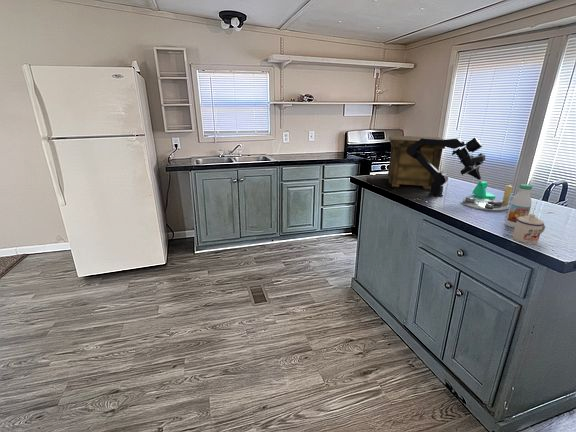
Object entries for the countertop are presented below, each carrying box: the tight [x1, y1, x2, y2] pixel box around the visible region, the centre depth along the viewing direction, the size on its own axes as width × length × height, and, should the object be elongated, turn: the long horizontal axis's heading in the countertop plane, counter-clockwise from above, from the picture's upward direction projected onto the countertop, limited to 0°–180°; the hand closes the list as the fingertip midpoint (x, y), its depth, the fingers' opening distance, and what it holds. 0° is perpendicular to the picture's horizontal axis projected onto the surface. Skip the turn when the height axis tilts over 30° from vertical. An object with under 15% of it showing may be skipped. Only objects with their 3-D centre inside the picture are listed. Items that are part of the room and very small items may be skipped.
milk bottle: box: [505, 183, 533, 229], centre depth 140 cm, size 8×8×20 cm
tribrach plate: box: [461, 196, 508, 212], centre depth 174 cm, size 22×22×3 cm
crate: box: [387, 135, 446, 190], centre depth 219 cm, size 35×35×33 cm
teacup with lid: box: [512, 213, 546, 244], centre depth 126 cm, size 12×9×12 cm
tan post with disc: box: [483, 184, 513, 207], centre depth 167 cm, size 16×7×11 cm, turn 103°
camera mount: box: [472, 181, 496, 200], centre depth 189 cm, size 12×8×10 cm, turn 179°
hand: (480, 179), depth 176 cm, fingers closed
